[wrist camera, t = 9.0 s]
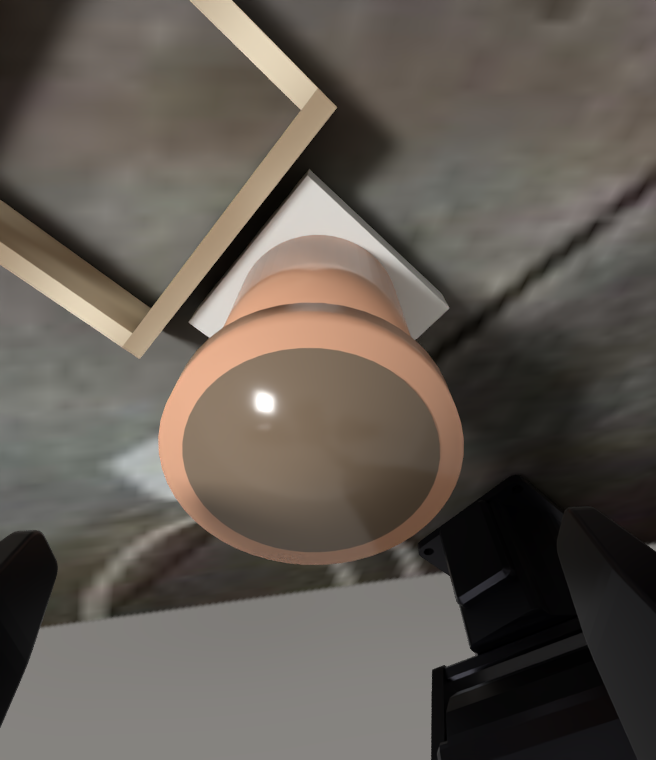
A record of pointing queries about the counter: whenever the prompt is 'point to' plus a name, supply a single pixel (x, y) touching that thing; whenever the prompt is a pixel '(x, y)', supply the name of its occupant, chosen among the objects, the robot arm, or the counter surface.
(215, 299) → the stone tile
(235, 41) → the beige square frame
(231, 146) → the counter surface
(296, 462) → the terracotta pot
